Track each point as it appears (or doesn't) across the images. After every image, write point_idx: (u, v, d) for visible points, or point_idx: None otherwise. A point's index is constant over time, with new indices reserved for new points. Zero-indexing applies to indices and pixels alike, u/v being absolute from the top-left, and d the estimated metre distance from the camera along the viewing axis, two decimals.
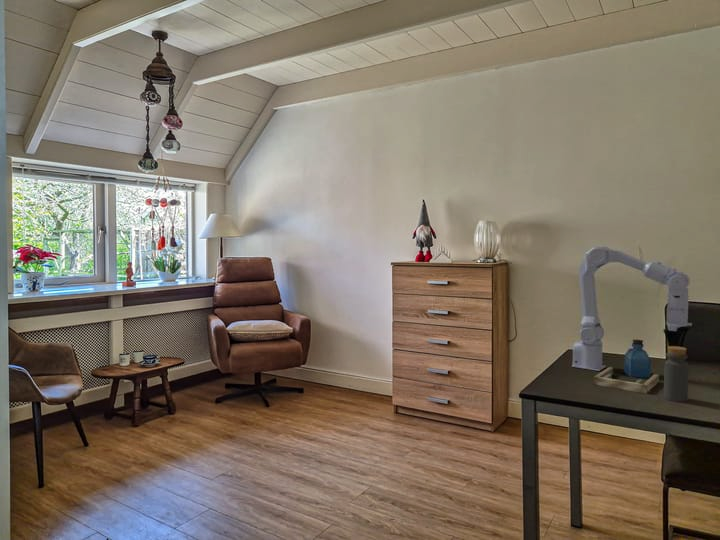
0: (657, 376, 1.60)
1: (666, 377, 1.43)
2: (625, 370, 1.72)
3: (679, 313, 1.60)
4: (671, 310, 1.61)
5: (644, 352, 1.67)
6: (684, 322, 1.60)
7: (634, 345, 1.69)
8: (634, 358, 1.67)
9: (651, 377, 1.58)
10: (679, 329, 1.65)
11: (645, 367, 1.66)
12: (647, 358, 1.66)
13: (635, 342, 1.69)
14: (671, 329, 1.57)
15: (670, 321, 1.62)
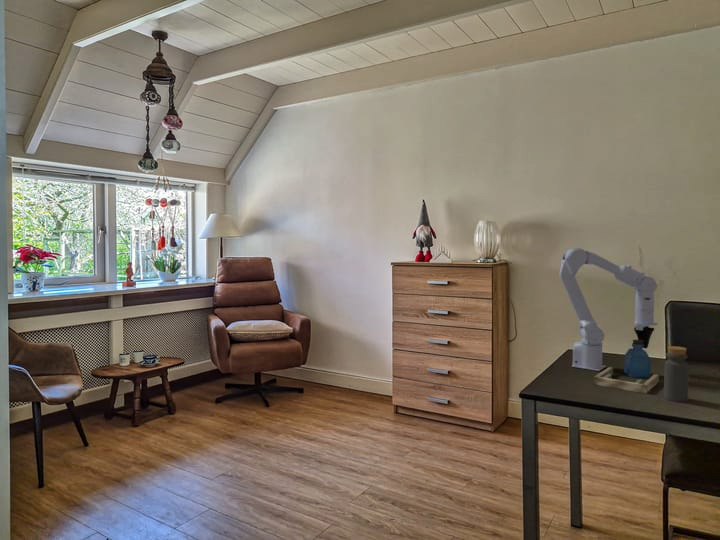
0: (657, 376, 1.60)
1: (666, 377, 1.43)
2: (625, 370, 1.72)
3: (645, 314, 1.73)
4: (638, 311, 1.74)
5: (644, 352, 1.67)
6: (650, 322, 1.73)
7: (634, 345, 1.69)
8: (634, 358, 1.67)
9: (651, 377, 1.58)
10: None
11: (645, 367, 1.66)
12: (647, 358, 1.66)
13: (635, 342, 1.69)
14: (637, 328, 1.70)
15: (638, 321, 1.75)
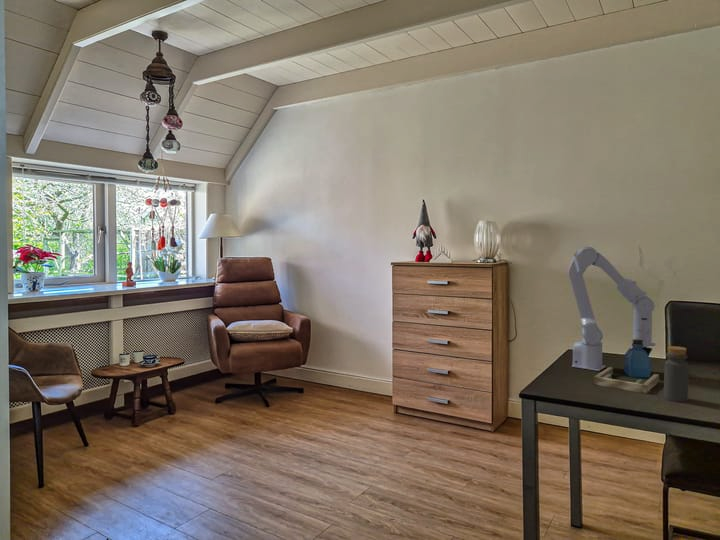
0: (657, 376, 1.60)
1: (666, 377, 1.43)
2: (625, 370, 1.72)
3: (643, 334, 1.71)
4: (636, 331, 1.73)
5: (644, 352, 1.67)
6: (648, 342, 1.71)
7: (634, 345, 1.69)
8: (634, 358, 1.67)
9: (651, 377, 1.58)
10: None
11: (645, 367, 1.66)
12: (647, 358, 1.66)
13: (635, 342, 1.69)
14: None
15: None
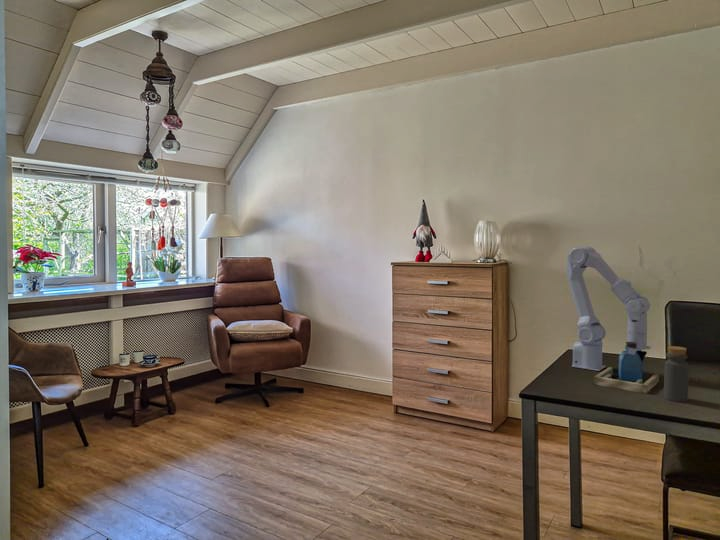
0: (657, 376, 1.60)
1: (666, 377, 1.43)
2: (619, 372, 1.68)
3: (638, 337, 1.65)
4: (631, 334, 1.67)
5: (636, 355, 1.62)
6: (643, 345, 1.65)
7: (627, 348, 1.64)
8: (625, 361, 1.63)
9: (651, 377, 1.58)
10: None
11: (637, 370, 1.62)
12: (639, 361, 1.61)
13: (628, 345, 1.64)
14: (630, 352, 1.63)
15: None
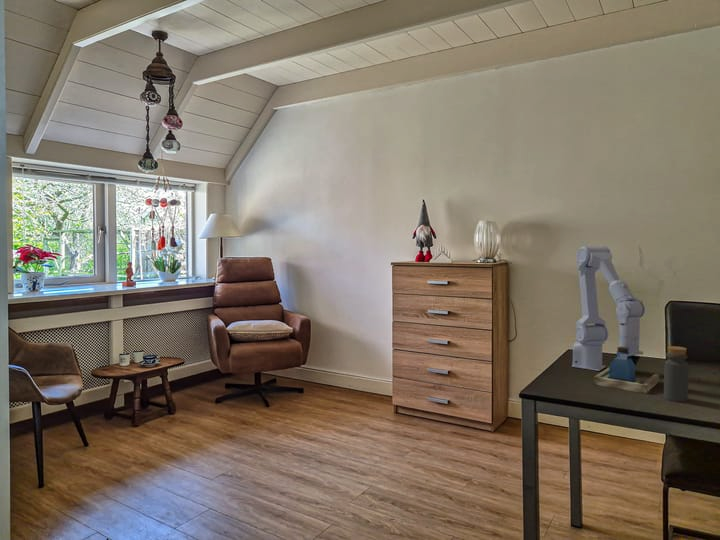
0: (657, 376, 1.60)
1: (666, 377, 1.43)
2: None
3: (630, 342, 1.58)
4: (622, 338, 1.60)
5: (626, 361, 1.55)
6: (635, 351, 1.58)
7: (617, 352, 1.57)
8: (613, 366, 1.56)
9: (651, 377, 1.58)
10: None
11: (625, 377, 1.54)
12: (628, 367, 1.54)
13: (618, 349, 1.57)
14: (621, 358, 1.56)
15: None
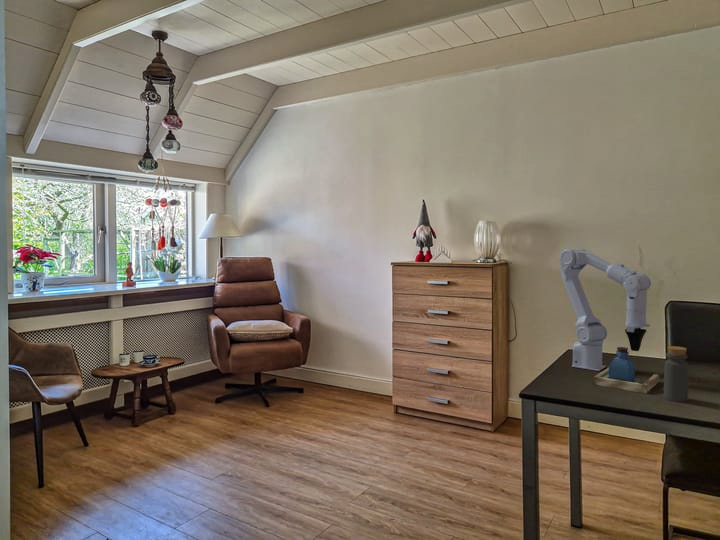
0: (657, 376, 1.60)
1: (666, 377, 1.43)
2: None
3: (637, 314, 1.62)
4: (630, 311, 1.64)
5: (625, 361, 1.55)
6: (642, 323, 1.62)
7: (617, 352, 1.57)
8: (613, 366, 1.56)
9: (651, 377, 1.58)
10: None
11: (625, 377, 1.54)
12: (627, 367, 1.54)
13: (618, 349, 1.57)
14: (628, 330, 1.60)
15: (629, 322, 1.64)
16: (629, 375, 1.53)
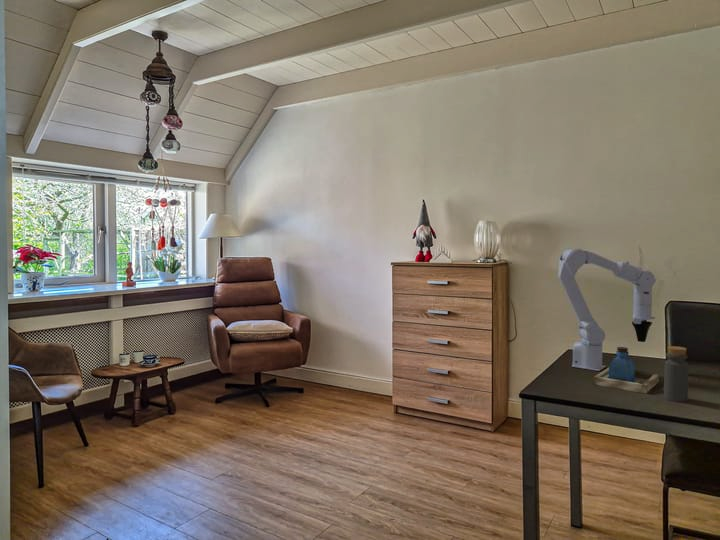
0: (657, 376, 1.60)
1: (666, 377, 1.43)
2: None
3: (643, 307, 1.74)
4: (636, 305, 1.76)
5: (625, 361, 1.55)
6: (648, 316, 1.74)
7: (617, 352, 1.57)
8: (613, 366, 1.56)
9: (651, 377, 1.58)
10: None
11: (625, 377, 1.54)
12: (627, 367, 1.54)
13: (618, 349, 1.57)
14: (635, 322, 1.72)
15: (635, 315, 1.76)
16: (629, 375, 1.53)
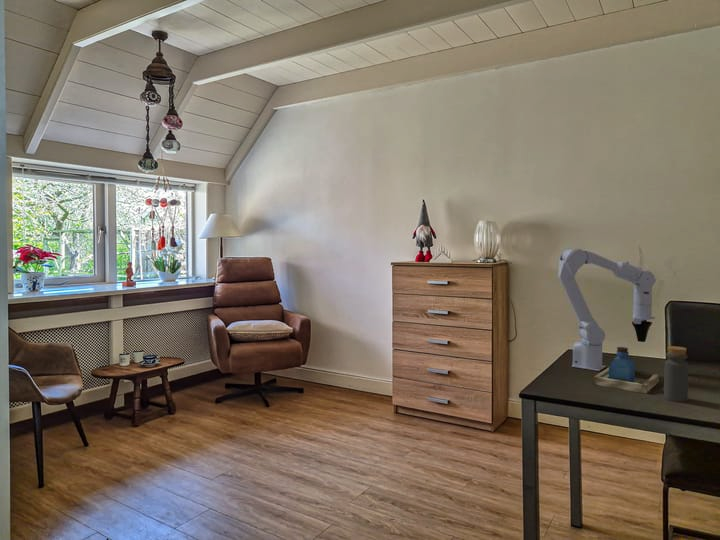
0: (657, 376, 1.60)
1: (666, 377, 1.43)
2: None
3: (643, 307, 1.74)
4: (636, 305, 1.76)
5: (625, 361, 1.55)
6: (648, 316, 1.74)
7: (617, 352, 1.57)
8: (613, 366, 1.56)
9: (651, 377, 1.58)
10: None
11: (625, 377, 1.54)
12: (627, 367, 1.54)
13: (618, 349, 1.57)
14: (635, 322, 1.72)
15: (635, 315, 1.76)
16: (629, 375, 1.53)
